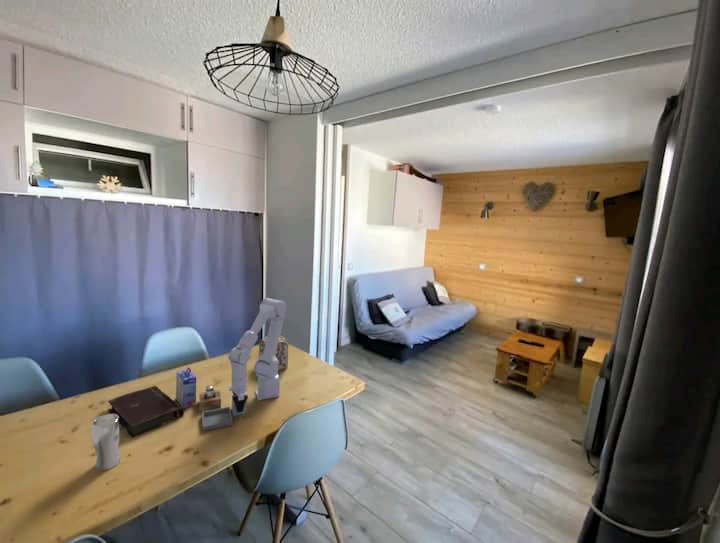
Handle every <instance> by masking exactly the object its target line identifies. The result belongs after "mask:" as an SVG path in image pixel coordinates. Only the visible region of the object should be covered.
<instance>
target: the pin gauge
mask: <svg viewBox="0 0 720 543" xmlns="http://www.w3.org/2000/svg"><path fill="white" fill-rule="evenodd" d="M214 389H215V387H214V385H213V384H210V385H207V386H206V387H205V390H206V391H205V392H206V399H209V398H214Z"/></svg>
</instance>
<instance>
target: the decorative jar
mask: <svg viewBox="0 0 720 543" xmlns="http://www.w3.org/2000/svg"><path fill="white" fill-rule="evenodd" d="M267 336H268V335H267ZM267 336H264V337H263V338H262V339H261V340H260V341H259V342H258V357H259V356H261V355H262V354H263V352H264V348H265V344H266V340H267ZM275 356H276V358H277V359H278V361H279V364H278V371H280V370H284V369H288V363H289V343H288V341H287V340H286V338H285V337H284V336H282V335H280V337H279V342H278V346H277V350H276V354H275Z"/></svg>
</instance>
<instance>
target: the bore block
mask: <svg viewBox="0 0 720 543" xmlns="http://www.w3.org/2000/svg"><path fill="white" fill-rule="evenodd" d="M198 395H199V397H198V398H199V400H198V401H199V412H201V413H202V412H205V411H210V410H215V409H221V408H222V396H221V390H220V389H215V390H214V398H209V399H206V391H203V392H201V391H200V392H199V394H198Z"/></svg>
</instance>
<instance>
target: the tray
mask: <svg viewBox="0 0 720 543" xmlns="http://www.w3.org/2000/svg"><path fill="white" fill-rule="evenodd" d="M231 411H232V409H231V406H227V407H221V408H217V409H211V410H206V411H201V418H202V419H201V420H202V422H201V423H202V433H205V432H210V431H215V430H218V429H223V428H228V427H232V426H233V417H232V416H233V415H232V412H231Z"/></svg>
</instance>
